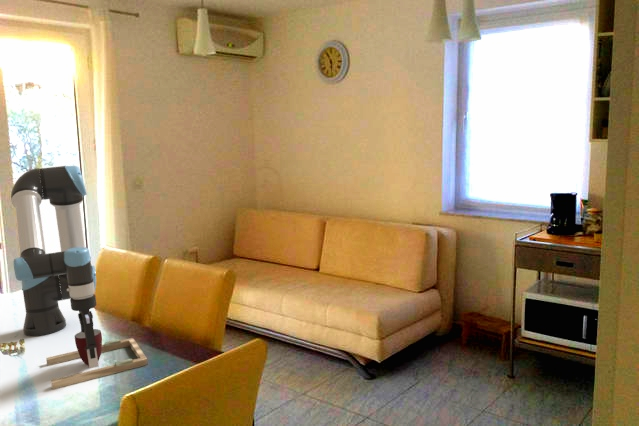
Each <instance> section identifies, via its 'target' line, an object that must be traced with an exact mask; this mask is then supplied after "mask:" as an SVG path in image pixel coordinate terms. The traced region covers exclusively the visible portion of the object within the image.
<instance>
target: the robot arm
mask: <svg viewBox="0 0 639 426" xmlns="http://www.w3.org/2000/svg"><path fill="white" fill-rule="evenodd" d="M86 195H87V189H86V186H85V183H84V178H83V175H82V172H81V169H80V167H79V166H77V165H61V166H52V167H43V168H34V169H30V170H28V171H26V172H24V173H23V174H22V175H20V177H19V178H17V180H15V183H14V184H13V187H12V189H11V194H10V198H11V199H10V200H11V205H12V206H13V207H14V209H15V216H16V226H17V228H16V229H17V237H18V248H19V257H16V258H14V259H13V270H14V276H15V279H16V280H17V281H20V282H21V291H22V294H23V300H24V301H23V302H24V308H25V318H24V323H23V328H22V329H23V334H24V335H25V336H29V337H36V336H45V335H50V334H52V333H57V332H58V331H60V330H63V329H64V328H65V327H66V326H67V322H66V318H65V316H64V315H63V313H62V310H61V309H60V305H59V302H60V301H65V300H70V307H71V310H72V311H74V312H78V313H77V316H78V319H79V324H80V332H84V333H85V338H86V344H87V347H86V348H85V350H87V355H88V362H89V365H88V368H89V369H93V368H98V367H99V361H98V358H97V351H96V347H97V345H96V341H95V335H94V329H95V328H94V320H93V318H94V317H93V316H94V315H93V313H92V311H91V309H93V308H95V307H96V306H97V297H96V295H95V293H96V289H97V271H96V267H95V265H92V261H91V260H92V257H91V254H90V249H89V248H88V247H86V246H85V239H84V231H83V223H82V213H81V207H80V204H82V203H83V201H84V198H83V197H85V196H86ZM43 200H45V201H46V200H49V204H50V205H51V206H53V207H54V209H55V216H56V224H57V231H58V238H59V245H60V246H59V247H60V251H57V252H50V253H46V246H45V238H44V231H43V223H42V222H43V221H42V217H41V215H42V214H41V210H40V205H41V203H42V201H43ZM90 344H91V345H90Z"/></svg>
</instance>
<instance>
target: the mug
mask: <svg viewBox="0 0 639 426" xmlns="http://www.w3.org/2000/svg"><path fill="white" fill-rule="evenodd" d="M93 329H94V335H95V341H96V345H97V347H96V351H97V358H98V362H99V360H100V358H101V356H102V353H101V350H102V345H103V344H102V343H103V336H102V331H101V330H100V329H98V328H97V329H96V328H93ZM74 342H75V346H76V351H78V353H79V355H80V358H79V359H80V360H81V361H82V362H83V363H84V364H85V365H86V366H89V362H88V355H87V350H85V348H86V347H87V344H86V338H85V333H84V332H81V331H80V332H77V333H75V335H74ZM90 345H91V344H90Z"/></svg>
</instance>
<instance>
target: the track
mask: <svg viewBox="0 0 639 426" xmlns="http://www.w3.org/2000/svg"><path fill="white" fill-rule="evenodd" d="M126 347H130V349H131V350H132V352H133V353H134V355H135V357H137V358H134V359H132V358H128V359H123V360H121V361H120V360H119V361H117V362H115V363H114V364H110V365H107V366H103V367H99V368H95V369H91V370H87V371H83V372H81V373H76V374H72V375H67V376H63V377H60V378H55V379H52V380H51V388H52V390H55V389H58V388H59V389H60V388H63V387H67V386H70V385H75V384H78V383H82V382H86V381H89V380H94V379H97V378H101V377H105V376H109V375H113V374H117V373H120V372H124V371H129V370H131V369H133V370H134V369H136V368H140V367H143V366H147V365H148V364H149V363H148V358H147V356H146V355H145V354H144V351H143V350H142V349H141V348H140V346H139V344H138V343H137V342H136V340H135V339H134V337H130V338H126V339H119V338H117V339H115V340H110V341H107V342H106V341H105V342H104V344H102V350H101V354H103V353H105V352H110V351H114V350H118V349H122V348H126ZM77 359H81V358H80V355H79V353H78V350H75V351H70V352H66V353H62V354H58V355H54V356H49V357H46V358H45V360H46V365H47V366H51V365H52V366H53V365H56V364H61V363H64V362H68V361H73V360H77Z"/></svg>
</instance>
